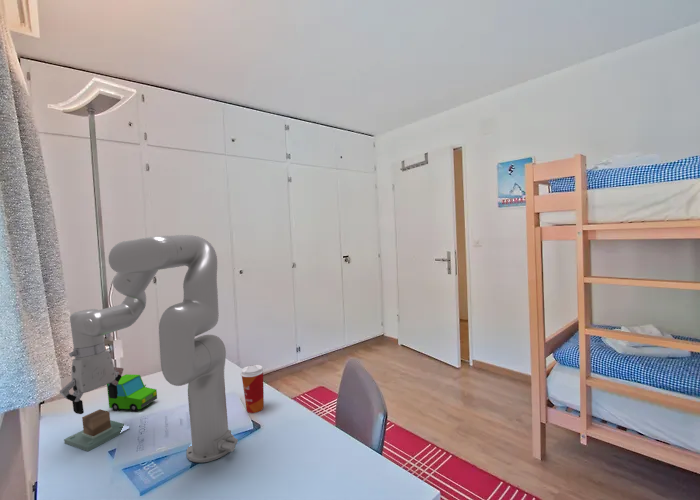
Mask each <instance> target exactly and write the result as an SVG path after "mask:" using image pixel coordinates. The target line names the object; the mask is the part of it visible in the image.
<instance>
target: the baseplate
mask: <svg viewBox="0 0 700 500" xmlns="http://www.w3.org/2000/svg"><path fill="white" fill-rule="evenodd" d="M110 423H111V428H109V429H107V430H105V431H103V432H101V433H99V434H97V435H95V436H91V435H88V434H85V433H84V431H83V429H82V430H81V431H80V430H79V432H76V433H75V434H72V435H71V436H68V437H66V438H63V442H64V444H65V445H68V446H72V447H75V448H77V449H79V450H80V449H81V450H83V451H86V452H90V451H91V450H93V449H95V448H97V447H99V446H101V445H103V444H105V443H106V442H108V441H110V440H112V439H113V438H115V437H118V436H120V435H121V434H120V432H121V430H122V428H123V426H124V424H125V423H123V422H118V421H115V420H111V419H110Z"/></svg>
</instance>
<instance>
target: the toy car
mask: <svg viewBox="0 0 700 500" xmlns="http://www.w3.org/2000/svg"><path fill="white" fill-rule="evenodd" d="M121 376H122V377H121V379H120V380H119V382H118V385H117V391H118V394H117V398H116V399H113V398H109V392H108V386H109V385H110V384H106V387H107V399H108V409H112V411H114V412H119V411H120V410H121V409H122V410H123V409H124V410H130V411H131V412H132V413H136V412H138V411H139V410H142V409H143V408H145V407H146V406H148V405H149V404H151V403H152V402H154V401H156V400H157V399H158V394H157V393H158V391H157V389H156V388H153V387H152V388H151V387H148V386H147V384H145V383H144V381H143V379H142V377H141V374H123V375H121Z"/></svg>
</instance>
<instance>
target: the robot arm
mask: <svg viewBox="0 0 700 500" xmlns="http://www.w3.org/2000/svg"><path fill="white" fill-rule="evenodd" d="M108 254H109V255H108V265H109V267H110V268H111V269H112V270H113V271H114V272H116V274H115V276H114V278H113V280H112V285H113V288H114V289H115V290H116V291H117V292H118V293H120V294H122V295H123V296H126V297H125V298H124V299H123V301H122V302H121V304H118V305H114V306H110V307H106V308H101V309H96V308H90V309H83V310H78V311H75V312H73V313H72V314H71V315H70V316H69V317H70V318H69V322H70V330H71V338H72V343H73V344H72V345H73V346H72V347H73V348H72V350H73V351H71V352H69V357H70V358H73V359H72V363H71V381H70V382H69V383H67V384H66V385H65V386H63V388H62V389H60V391H59V393H60V395H61V396H62V397H63V398H64V399H66V400H68V401H70V402H72V409H73V412H74V413H75V414H76V415H83V414H84V413H85V410H84V404H83V403H84V402H83V400H82V399H81V398H82V397H83V395H84V393H88V392H91V391H94V390H96V389H98V388H101V387H104V386H107V384H110V385H109V386H108V390H107V393H108V392H109V398H113V399H116V398H117V394H118V391H117V385H118V382H119V380H120V379H121V377H122V376H123V372H124V368H123V367H116V366H114V362H113V358H112V355H111V353H110V351H109V349H108V350H106V344H105V337H104V336H105V335H108V334H111V333H113V332H117V331H121V330H124V329H126V328H129V327H131V326H132V325H134V324H135V323H136V322H137V320H138V319H139V318H140V317H141V315H142V313H143V312H144V310H145V309H146V305H147V294H146V290H147V288H148V287H149V285H150V284H151V282H152V280H153V279H154V278H155V276H156V275H157V273H158V272H159V271H160V270H166V269H171V268H172V269H173V268H180V267H188V269H187V270H186V273H185V276H184V279H183V283H182V285H183V286H182V287H183V301H182V302H179V303H175V304H173V305H171V306H169V307H168V308H166V309H165V310H164V312H163V313H162V315H161V317H160V319H159V323H158V337H159V339H158V340H159V353H160V354H159V357H160V367H161V371H162V375H163V377H164V379H165V381H167V382H168V384H170V385H172V386H176V387H179V386H184V385H187V400H188V410H189V411H188V413H189V421H190V422H189V424H190V425H189V426H190V438H191V443H192V446H190V447H189V446H187V449H186V452H185V453H186V458H187V460H189V461H191V462H193V463H200V464H201V463H207V462H212V461H216V460H217V459H221V458H222V457H224V456H226V455H227V454H229V453H230V452H234V451H235V450H236V445H238V442H239V439H238V438H236V437H235V436H234V435H233V434H232V430H231V429H229V423H228V422H229V420H228V408H227V398H226V382H225V366H226V357H227V353H226V352H227V350H226V345H225V343H224V342H223V340H222V338H220V337H219V336H217V335H215V334H204V333H206V332H208V331H209V332H210V330H212V329H214V328H215V327H216V325H217V324H218V321H219V297H218V296H219V293H218V281H217V280H218V256H217V252H216V250H215V248H214V247H213V245H212V244H211V243H210V242H209V241H208V240H207V239H205V238H203V237H202V236H201V237H200V236H197V235H190V234H178V235H177V234H175V235H157V236H156V235H155V236H148V237H145V238H138V239H132V240H126V241H125V240H124V241H120V242H118V243H117V244H115V245H114V246H113V247H112V248H111V249H110V252H109V253H108ZM202 334H203V335H202ZM70 390H73V393H72V394H71V393H70Z"/></svg>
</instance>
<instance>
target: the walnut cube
mask: <svg viewBox="0 0 700 500" xmlns="http://www.w3.org/2000/svg"><path fill="white" fill-rule="evenodd" d="M81 419H82V420H81V421H82V428H83V429H82V430H83V431H84V433H85V434H88V435H91V436H95V435H97V434H99V433H101V432H103V431H105V430H107V429H109V428H111V423H110V420H111V414H110V411H107V410H104V409H97V410H96V411H93V412H91V413H88V414H86V415H83V416H82V417H81Z"/></svg>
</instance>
